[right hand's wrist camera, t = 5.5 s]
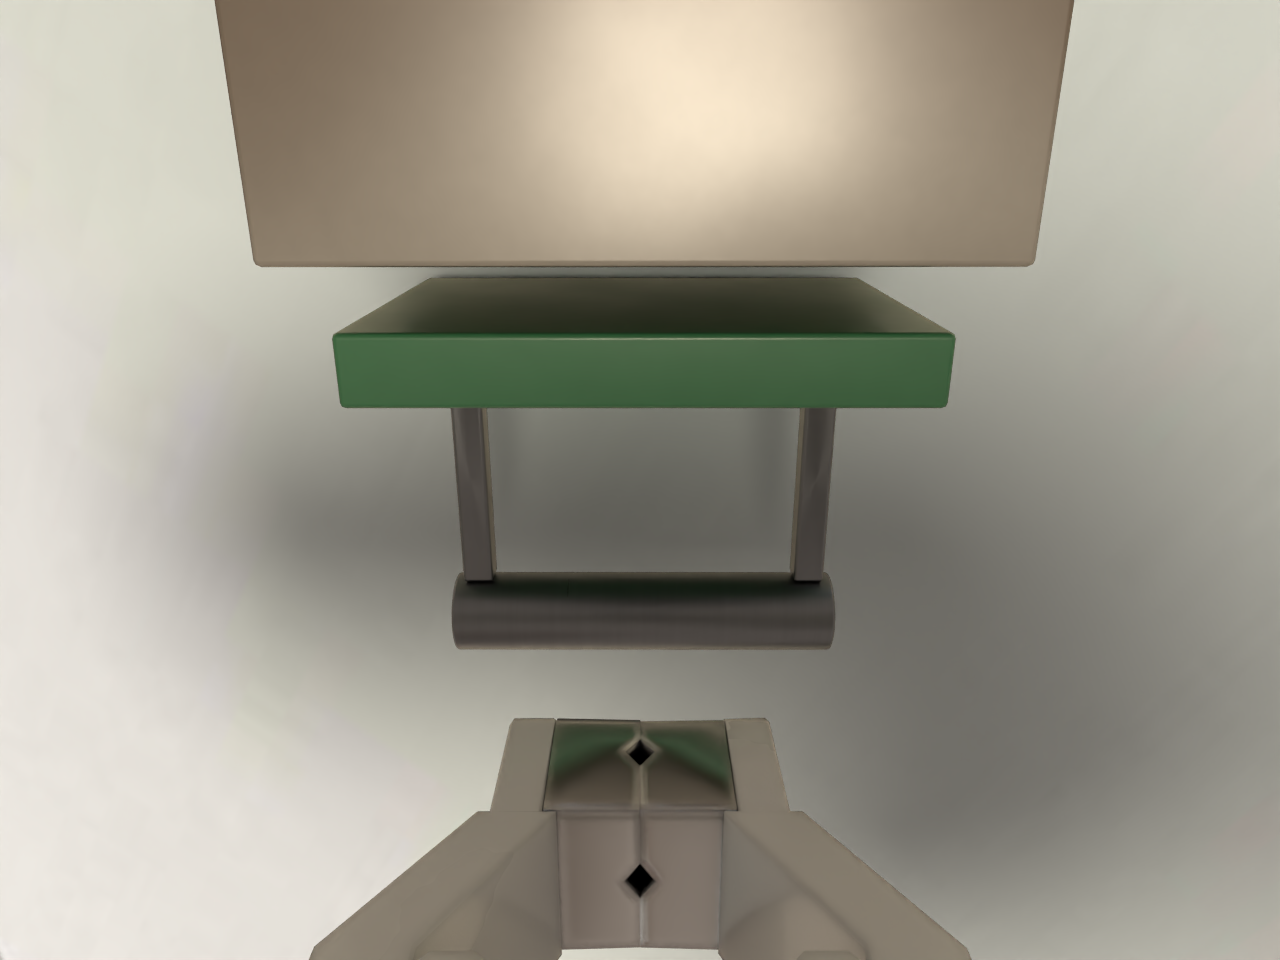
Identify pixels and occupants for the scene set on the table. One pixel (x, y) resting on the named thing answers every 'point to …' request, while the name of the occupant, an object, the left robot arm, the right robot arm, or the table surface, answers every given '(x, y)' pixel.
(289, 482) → the table surface
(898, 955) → the right robot arm
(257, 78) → the cabinet
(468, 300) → the drawer
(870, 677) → the table surface
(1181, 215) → the table surface
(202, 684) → the table surface
